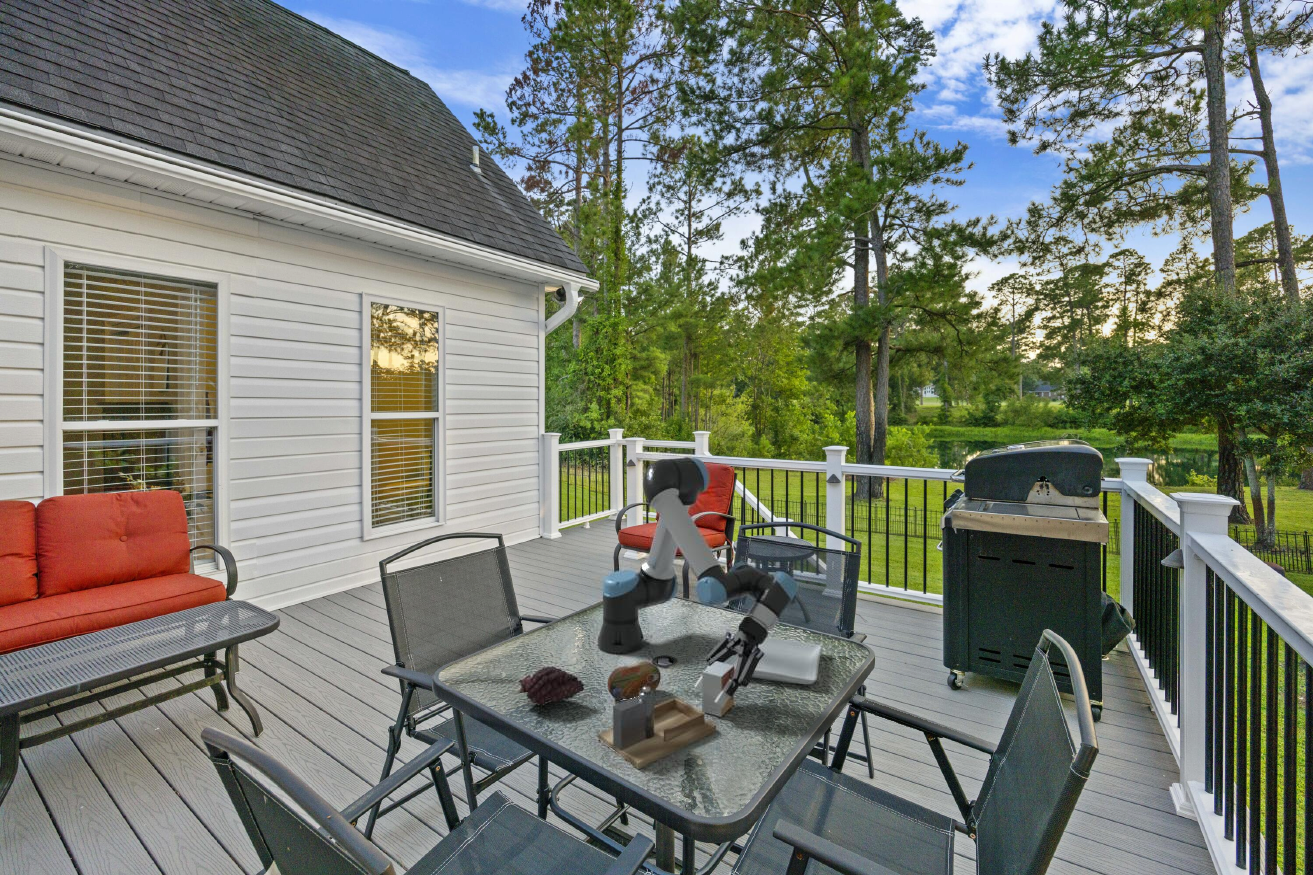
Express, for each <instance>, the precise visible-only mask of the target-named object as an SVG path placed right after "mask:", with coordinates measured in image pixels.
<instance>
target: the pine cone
mask: <svg viewBox="0 0 1313 875" xmlns="http://www.w3.org/2000/svg"><path fill="white" fill-rule="evenodd" d="M578 679H579V678H578V676H576V675H574V674H573V673H569V672H566V671H565V670H562V669H561V668H557V667H555V666H546V667H545V666H544V667H542V668H541V669H538V670H537V671H535V673H533V674H532V676H531V675H526V676H525V677H524V678H523V679H519V680H518V682H519V683H520V689H519V691H518V693H519V694H526V697H527V699H529V700H530V702H531V703H532V704H535V703H537V704H539V705H541V706H542V705H543V704H545V703H546V702H549V701H551V702H563V701H564V700H568V699H572V698H573V697H574V696H577V695H578V694H580V692H584V689H585V686H584V685H585V684H584V683H583V682H582V680H578ZM549 703H550V702H549ZM546 704H547V703H546ZM546 704H545V705H546ZM539 705H538V706H539Z"/></svg>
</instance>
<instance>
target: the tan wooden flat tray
mask: <svg viewBox="0 0 1313 875" xmlns="http://www.w3.org/2000/svg"><path fill="white" fill-rule="evenodd" d="M705 714H706V712H702V710H699V709H698V708H695V707H694V706H692V705H690V704H688V703H687V702H685V701H682V700H680V699H679V698H677V697H673V698H671V699H668V700H666V701H663V702H661V703H658V704H656V705H654V736H653V737H652V738H649V739H646V740H644V741H641V742H639V743H637V744H635V745H633V746H630V747H628V748H626V749H624V750H622V751H621V750H620V749H618V748H617V747H615V746H614V745H613V727H611V728H609V729H607V730H605V731H602V732H600V733H597V739H598V738H599V739H601V740H602V741H603V742H604V743H606V744H607V745H608V746H609V747H611V748H612V749H613V750H615V751H616V752H617V753H618V754H620V755H621V756H622V757H623V758H624V759H626V760H627V761H628V762H630V763H631V764H632V765H633V766H632V765H631V764H630V763H629V764H630V765H631V766H632V767H634V766H635V767H636V768H637V770H640V769H642V767H643V768H645V767H646V766H648V765H651V764H653V763H655V762H656V761H658V760H661V759H663V758H664V757H667V756H669V755H670V754H673V753H675V752H677V751H679V750H680V749H683V748H685V747H687V746H689V745H691V744H693V743H695V742H697V741H699V740H701V739H702V738H705V737H708V736H709V735H711V734H713V733H715V732H717V724H715V723H714V722H712V721H710V720H708V719H706V715H705ZM623 758H622V759H623ZM624 759H623V760H624ZM626 760H625V761H626ZM627 761H626V762H627ZM628 762H627V763H628ZM644 766H645V767H644ZM635 767H634V768H635ZM636 768H635V769H636Z"/></svg>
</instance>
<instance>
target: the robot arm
mask: <svg viewBox="0 0 1313 875" xmlns="http://www.w3.org/2000/svg"><path fill="white" fill-rule="evenodd" d="M645 470H646V471H645V472H644V474H643V478H642V488H643V489H642V490H643V493H644V497H645V499H646V501H647V503H648V504H649V507H650V508H651V509H652V510H656V512H657V514H658V515H659V518H658V521H657V524H656V528H655V531H654V534H653V540H652V542H651V545H650V550H649V553H648V557H647V559H645V560H643V561H642V563H641V566H640V570H639V572H637V571H635V570H632V569H624V570H616V571H613V572H611V573H608V574H607V575H606V576H605V577H604V578H603V579H604V580H603V582H602V590H601V592H602V624H601V628H600V631H599V635H598V636H597V647H598V646H599V647H598V649H599V650H601V649H602V650H601V651H603V650H604V651H603V652H605V651H606V653H609V652H610V654H616V653H623V654H630V653H634V652H637V651H640V650H641V649H642V648H643V647H644V644H645V638H644V637H645V636H644V634H643V631H642V627H641V624H640V621H639V610H642V609H646V608H649V607H650V608H651V607H654V606H658V605H663V604H666V603H667V602H669V601H671V600H673V599H674V597H675V596H676V595H677V593H678V589H679V588H678V587H679V582H678V581H677V580H678V576H677V574H676V571H675V570H676V569H675V568H674V567H673V565H674V561H675V559H676V555H677V551H678V549H679V550H680V553H681V554H682V555H683V557H684V559H685V561H686V562H687V564H688V566H689V568H690V569H691V571H692V573H693V575H694V576H695V578H696V579H697V583H696V585H695V592H696V597H697V599H698V600H699V602H700V603H701V604H703V605H704V606H706V607H712V606H720V605H722V604H724V603H725V604H726V603H728V602H730V601H733V600H738V599H741V598H744V597H747V596H749V597H750V598H753V599H754V600H755V601H754V602H753V604H752V606H751V607H750V609H749V610H748V611H747V612H746V615H747V616H744V617H743V619H742V620H741V622H740V623H739V624H738V631H737V632H736V633H734V634H733V633H731V632H730V631H729V630H727V631H726V632H725V634H724V635H723V638H722V639H721V640H719V642H718V643H717V644H716V645H715V646H714V648H713V649H711V651H710V652H709V653H708V654H706V656H705V657H704V660H705V661H706V667H705V668H704V669H703V671H705V670H706V669H707V668H708V667H710V666H711V665H712V664H713V663H714V662H715V661H718V662H722V663H724V662H725V661H726V660H727V659H729V658H730V657H731V656H733V655H736V654H738V656H739V658H738V662H737V665H736V669H735V673H734V676H733V678H731V680H732V681H731V680H730V679H729V681H728V682H727V684H726V685H725V687H724V688H723V689H722V691H721V692H720V694H719V695H718V697H717V698H716V700H715V701H714V702H716V703H717V704H718V705H719V706H720V707H721V708H723V707H724V705H725V704H726V702H727V701H728V699H729V698H730V697H732V696H733V694H734V695H735V693H736V691H737V690H738V688H739V687H744V688H747V687H748V685H749V684H750V681H751V680H752V678H753V677H752V675H753V673H754V671H755V669H756V667H757V664H758V662H759V660H760V659H761V658H762V657H763V656H764V653H763V652H762V651H761V650H760V649H759V648H758V645H759V644H762V643H763V642H764V640H765V639H766V637H768V636H769V632H771V631H772V630H773V629H774V627H775V625H776V624H777V622H778V621H779V620H780V617H781V616H782V614H783V613H784V611H785V610H786V609H787V607H788V605H789V604H791V602H792V601H793V599H794V597H795V596H796V593H797V592H798V589H799V585H798V582H797V581H796V580H795V579H794V578H793V577H792V576H791V575H789V574H787V573H786V572H785V571H781V570H776V572H775V573H774V574H772V575H770V574H767V573H765V572H763V571H761V570H759V569H757V568H756V567H753V566H752V565H750V564H747V563H744V562H736V563H734V565H732V566H731V567H730V568H729V570H728V571H727V572H725V570H724V569H723V567H722V566H721V564H720V563H719V561H718V559H717V558H716V556H715V554H714V553H713V551H712V550H711V548H710V546H709V545H708V543H707V541H706V540H705V538H704V537H703V536H704V535H702V533H701V532H700V530H699V527H698V526H697V524H696V523H695V522H694V520H693V518H692V516H691V515H690V514H689V510H690V507H692V506H694V505H695V504H696V503H697V500H698V496H699V494H702V493H703V492H706V490H707V489H708V487H709V485H710V472H709V471H708V468H707V465H706V464H705V463H704V462H703V461H702V460H701V459H699V458H697V457H688V456H686V457H680V458H663V459H662V458H661V459H658V460H656V461H654V462H652V463H651V464H650V465H649V466H648V467H647V468H646V469H645ZM731 647H732V648H731ZM751 653H752V654H751ZM693 687H694V688H695V689H696V690H697V691H699V693H701V694H702V672H701V673H700V677H699V678H698V679H697V681H696V683H694V686H693Z"/></svg>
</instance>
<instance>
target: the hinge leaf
mask: <svg viewBox="0 0 1313 875" xmlns="http://www.w3.org/2000/svg"><path fill="white" fill-rule="evenodd" d="M654 706H655V691H653V690H650V686H644V687H643V690H640V691H639V697H638V696H637V697H635V698H632V699H629V700H625V701H621V702H620V703H618V704H616V705H612V717H613V718H612V723H613V725H612V728H613V745H614V746H615V747H617V748H618V749H620V750H621V751H622V750H624V749H626V748H628V747H630V746H633V745H635V744H637V743H639V742H641V741H644V740H646V739H649V738H652V737H653V736H654Z"/></svg>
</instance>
